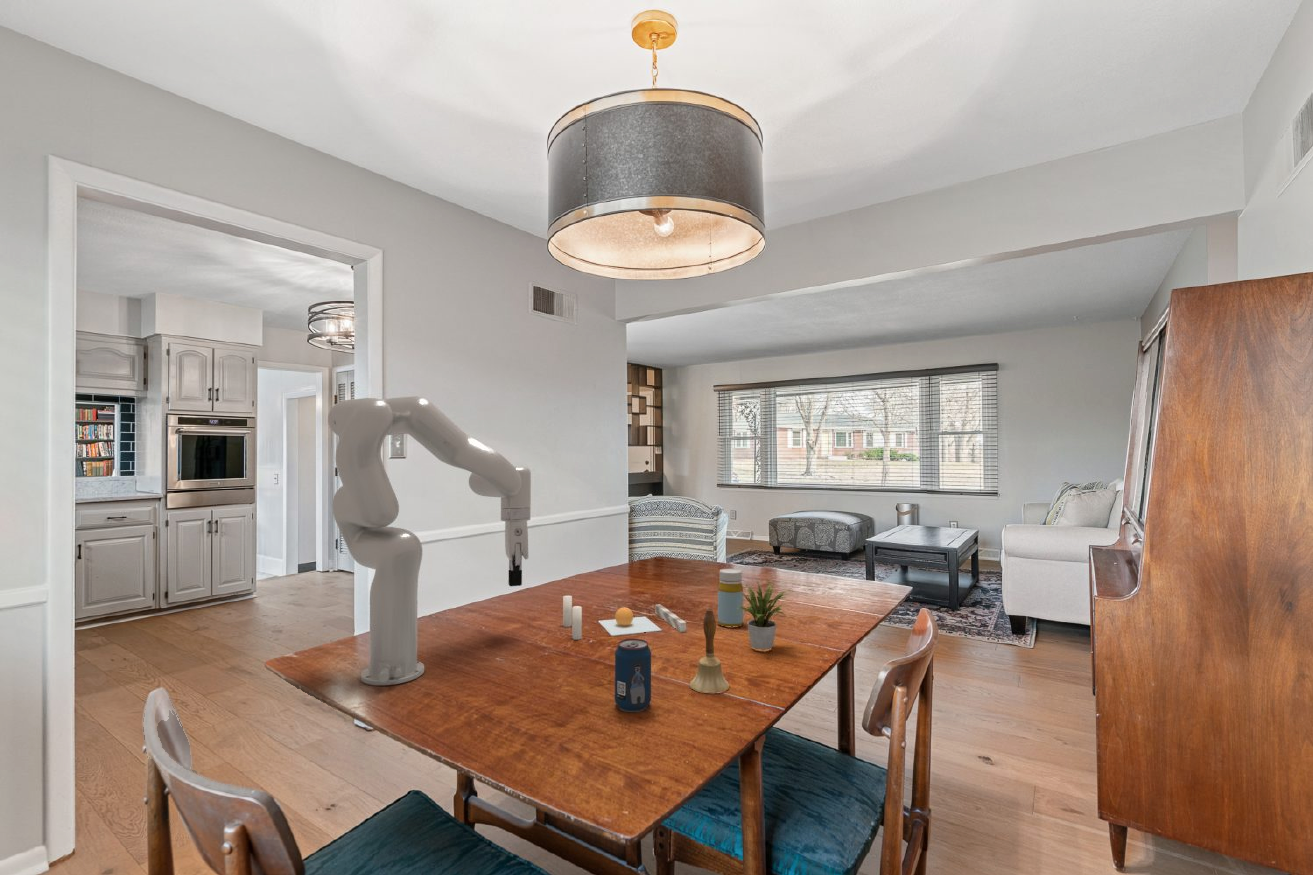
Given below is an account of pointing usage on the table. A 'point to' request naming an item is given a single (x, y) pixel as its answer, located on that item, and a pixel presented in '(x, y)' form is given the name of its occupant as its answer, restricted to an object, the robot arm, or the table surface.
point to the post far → (567, 611)
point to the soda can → (632, 675)
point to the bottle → (730, 598)
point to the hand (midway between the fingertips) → (515, 585)
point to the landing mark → (629, 626)
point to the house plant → (762, 617)
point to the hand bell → (709, 662)
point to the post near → (576, 622)
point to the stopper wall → (670, 618)
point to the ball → (624, 616)
